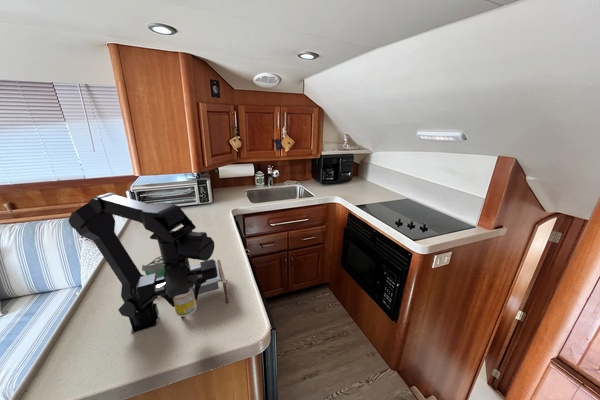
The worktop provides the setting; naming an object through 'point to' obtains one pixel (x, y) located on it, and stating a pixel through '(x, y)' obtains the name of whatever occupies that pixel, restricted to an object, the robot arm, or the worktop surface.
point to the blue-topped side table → (222, 282)
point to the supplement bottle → (185, 303)
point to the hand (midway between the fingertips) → (185, 302)
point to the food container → (155, 267)
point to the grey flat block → (209, 283)
